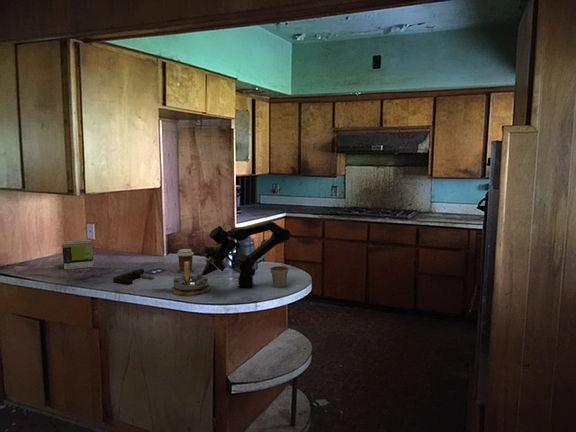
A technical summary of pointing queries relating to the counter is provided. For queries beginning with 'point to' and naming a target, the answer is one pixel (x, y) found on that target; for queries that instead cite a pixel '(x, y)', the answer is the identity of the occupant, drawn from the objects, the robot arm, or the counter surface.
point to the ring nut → (190, 281)
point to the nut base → (182, 293)
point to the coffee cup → (185, 258)
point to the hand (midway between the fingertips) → (202, 275)
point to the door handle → (132, 277)
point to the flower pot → (279, 275)
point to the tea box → (77, 254)
